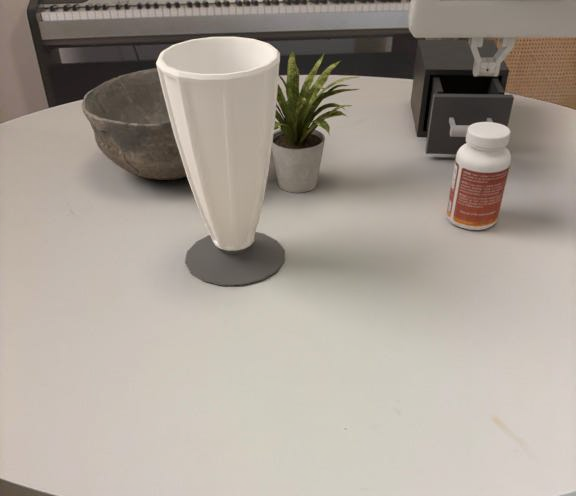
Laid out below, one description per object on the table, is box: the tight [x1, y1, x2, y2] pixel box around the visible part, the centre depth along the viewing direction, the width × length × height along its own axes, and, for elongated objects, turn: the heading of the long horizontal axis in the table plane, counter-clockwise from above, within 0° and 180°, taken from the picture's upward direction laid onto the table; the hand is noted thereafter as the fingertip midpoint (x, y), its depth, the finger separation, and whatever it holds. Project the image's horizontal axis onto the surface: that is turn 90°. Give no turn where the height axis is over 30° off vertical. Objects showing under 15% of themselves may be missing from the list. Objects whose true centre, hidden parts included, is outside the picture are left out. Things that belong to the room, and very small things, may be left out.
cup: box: [155, 36, 285, 287], centre depth 66 cm, size 12×12×22 cm
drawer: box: [425, 75, 515, 155], centre depth 90 cm, size 17×10×8 cm, turn 176°
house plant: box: [271, 50, 359, 194], centre depth 80 cm, size 14×14×16 cm
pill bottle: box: [446, 122, 512, 231], centre depth 75 cm, size 6×6×11 cm
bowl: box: [81, 67, 187, 181], centre depth 87 cm, size 21×21×10 cm
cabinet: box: [410, 39, 510, 138], centre depth 98 cm, size 14×12×10 cm
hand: (485, 75), depth 80 cm, fingers closed
